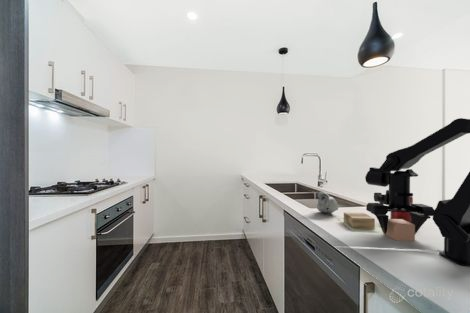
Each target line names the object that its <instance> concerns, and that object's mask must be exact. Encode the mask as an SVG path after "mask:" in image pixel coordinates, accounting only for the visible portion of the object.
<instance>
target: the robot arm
mask: <svg viewBox="0 0 470 313" xmlns="http://www.w3.org/2000/svg"><path fill="white" fill-rule="evenodd" d="M467 134H470V118H463V117H460V118H459V117H458V118H456V119H453V120H452V121H451V122H450V123H448V124H447V125H445V126H443V127H442V128H440V129H438V130H436V131H435V132H433V133H431V134H430V135H428V136H426V137H424V138H422V139H421V140H418V141H417V142H416V143H414V144H412V145H410V146H408V147H404V148H401V149H397V150H394V151H391V152H389V153H388V154H387V155H386V156H385V160H384V162H383V163H382V164H381V165H380V166H379V167H378V168H377V167H374V166H373V167H368V168H369V170H368V171H367V172H366V174H365V182H366V184H368V185H371V186H377V187H384V188H387V187H388V189H387V190H386V191H385V194H382V192H374V193H373V201H374V202H367V204H366V206H365V207H366V209H365V210H366V211H368V212H370V214H373V215H374V216H375V218H376V219H377V221H378V222H379V226H380V228H381V229H382V231H383V232H382V233H383V234H384V235H386V232H387V226H388V219H389V215H387V214H388V213H389V212H390V213H391V212H409V214H410V216H411V223H412V224H414V225H415V235H416V234H417V233H418V231H419V230H420V229H421V227H422V226H423V225H424V224H425V222H426V221H427V220H428V219H431V217H432V220H433V223H434V224H435V226H437V227H438V229H439V232H440V234H441V236H442V237H443V238H444V239H443V248H444V249H443V251H444V252H443V251H439V252H438V254H439V255H440V256H442V257H444V258H446V259H448V260H450V261H451V262H453V263H455V264H457V265H459V266H466V267H468V266H470V171H469V172H468V173H467V175H466V177H465V178H464V180H463V181H462V183H461V184H460V186H459V187H458V189H457V191H456V192H455V193H454V195H453V197H452V198H449V199H442V200H438V202H437V204H436V208H434V207H433V206H430V205H427V204H423V203H413V204H411V205H410V196H412V197H413V196H414V193H412V192H411V178H412V177H414V178H416V177H418V176H419V174H418V173H417V172H415V171H414V170H413V169H412V168H411V167H413V166H414V165H416V164H418V163H419V161H420V160H421V159H423V157H425V156H426V155H428V154H430V153H432V152H434V151H436V150H437V149H439V148H441V147H443V146H446V145H447V144H449V143H451V142H453V141H455V140H457V139H460V138H461V137H463V136H465V135H467ZM393 208H394V209H393Z"/></svg>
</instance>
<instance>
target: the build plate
mask: <svg viewBox="0 0 470 313" xmlns="http://www.w3.org/2000/svg"><path fill="white" fill-rule="evenodd" d="M336 219H337V220H338V221H340V223H342V224H344V225H345V226H346V227H347V228H348V229H350V230H352V232H361V233H363V232H365V233H383V231H382V229H381V226H380V227H379V226H378V225H376V224H375V229H355V228H351V227H350V226H349V225H347V224H346V223H345V222H344V217H342V218H341V217H337V218H336Z"/></svg>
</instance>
